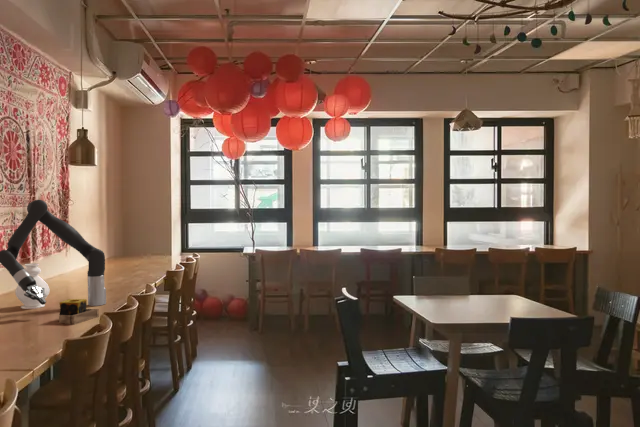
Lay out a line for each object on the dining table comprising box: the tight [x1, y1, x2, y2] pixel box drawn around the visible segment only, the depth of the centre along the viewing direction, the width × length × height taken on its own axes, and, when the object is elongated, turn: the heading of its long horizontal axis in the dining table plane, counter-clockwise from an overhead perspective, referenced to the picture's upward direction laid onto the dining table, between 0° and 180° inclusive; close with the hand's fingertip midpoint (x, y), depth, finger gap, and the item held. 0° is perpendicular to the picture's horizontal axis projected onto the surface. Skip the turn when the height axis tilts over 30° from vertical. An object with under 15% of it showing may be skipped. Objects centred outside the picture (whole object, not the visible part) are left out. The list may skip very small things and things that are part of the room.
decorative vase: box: [15, 262, 51, 310], centre depth 332 cm, size 18×18×25 cm
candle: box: [58, 298, 88, 316], centre depth 295 cm, size 10×10×10 cm
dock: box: [58, 308, 100, 325], centre depth 294 cm, size 9×19×4 cm, turn 165°
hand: (44, 303), depth 300 cm, fingers closed
